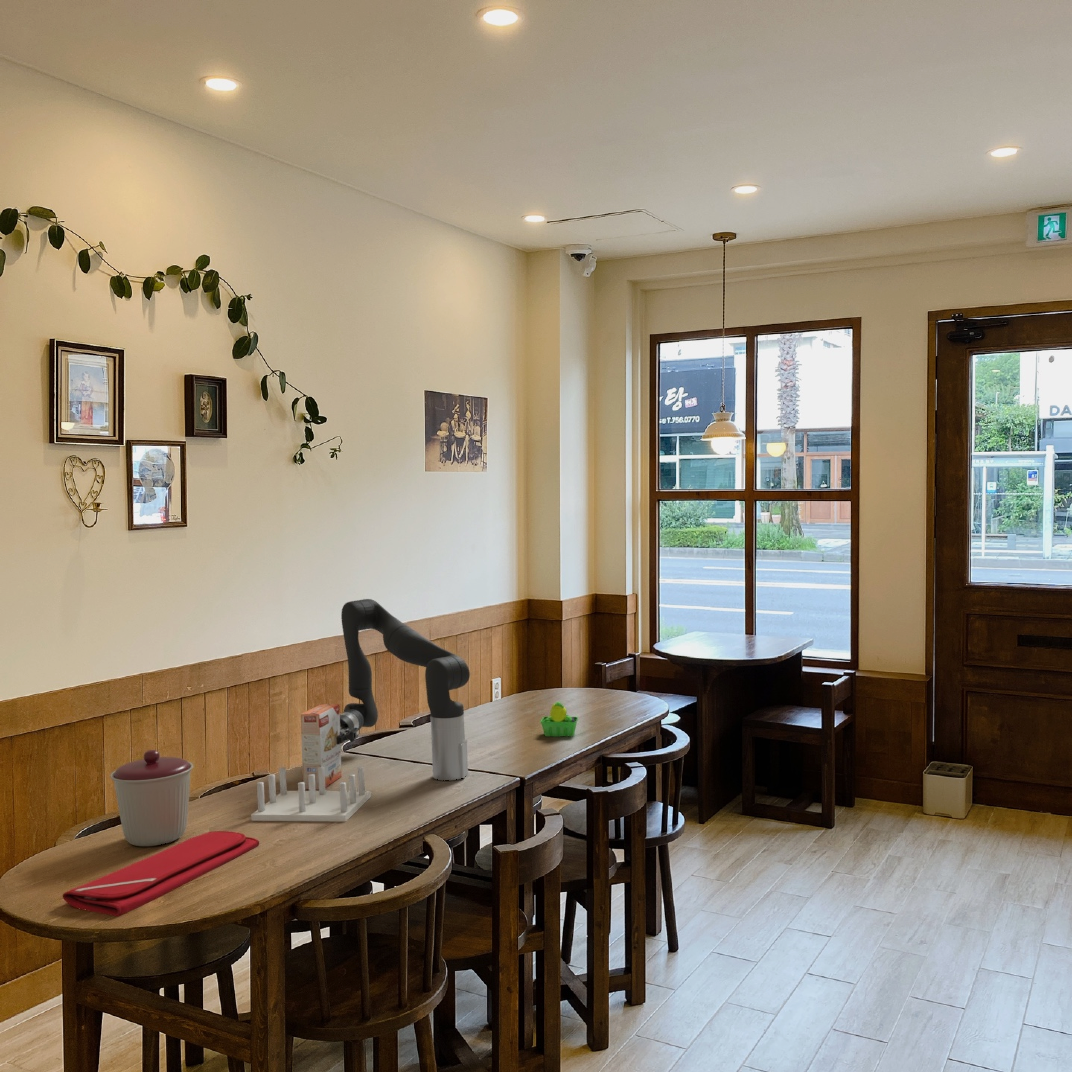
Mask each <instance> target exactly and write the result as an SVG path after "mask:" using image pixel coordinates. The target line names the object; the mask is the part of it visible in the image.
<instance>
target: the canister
mask: <svg viewBox="0 0 1072 1072" xmlns="http://www.w3.org/2000/svg"><path fill="white" fill-rule="evenodd" d="M193 769H194V764H193V763H192V762H191V761H188V760H187V759H184V758H181V757H177V756H176V757H174V756H160V752H159V751H158V750H156V749H148V750H147V751H145V753H143V759H138V760H134V761H131V762H127V763H125V764H123V765H120V766H119V767H118V768H117V769H115V770H114V771H113V772H111V773H110V774H109V775H110V779H111V780H112V781H113V783H114V790H115V796H116V802H117V807H118V812H119V819H120V822H121V823H120V824H121V829H122V833H123V836H124V839H125V840H126V841H127V842H128V843H129V844H130V845H133V846H137V847H154V846H155V847H157V846H161V844H162V845H165V843H166V844H168V843H171V842H173V841H177V840H178V839H180V838H181V837H182V836H183V835H184V833H185V831H186V829H187V825H188V815H189V804H190V803H189V802H190V786H191V785H190V784H191V771H193Z"/></svg>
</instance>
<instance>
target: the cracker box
mask: <svg viewBox="0 0 1072 1072" xmlns="http://www.w3.org/2000/svg"><path fill="white" fill-rule="evenodd" d="M340 714H341V713H340V704H339V703H321V704H318V705H316V706H314V707H313V708H310V709H309V710H306V711H304V712H302V713H300V732H301V733H300V734H301V763H302V764H301V765H302V766H301V767H302V768H301V769H302V782H304V783H305V791H309V780H308V775H310V774H314V775H315V791H319V776H318V768H319V767H324V769H325V787H326V788H328V786H330V785H331V784H333V783H334V782H336V781H337V780H339V779H340V778H342V754H341V753H342V751H341V750H342V749H341V746H342V745H341V744H342V743H341V744H337V739H336V738H337V736H338V735H340ZM338 778H339V779H338ZM329 784H330V785H329Z"/></svg>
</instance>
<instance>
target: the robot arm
mask: <svg viewBox="0 0 1072 1072" xmlns="http://www.w3.org/2000/svg"><path fill="white" fill-rule="evenodd" d="M340 619H341V627H342V633H343V640H344V646H345V651H346V657H347V667H348V694H349V696H350V697H352V698H355V699H358V700H360V701H361V703H357V702H352V703H348V704H346V705H344V706H345V707H343V708H344V709H343V712H342V713H340V735H338V736H337V738H336V739H337V744H343V743H346V742H348V741H349V742H354V741H355V740H357V739H358V738H359V731H361V728H372V727H374V726H375V725H376V723H377V721H378V718H379V713H378V708H377V704H376V702H375V697H374V694H373V686H372V685H373V681H372V679H373V674H372V667H371V664H370V662H369V659H368V658H367V657H366V654H364V651H363V649H362V647H361V644H360V641H359V634H360V631H366V630H375V631H377V632H378V633H380V634H381V635H382V640H383V644H384V647H385V648H386V650H387V651H388V652H389V653H390V654H392V655H393V656H394V657H396V658H397V659H399V660H401V662H405V663H407V664H411V665H415V666H418V667H419V666H420V667H422V668H425V672H424V673H425V674H424V678H425V688H426V689H425V690H426V698H427V699H426V701H427V704H428V705H427V706H428V709H429V713H430V734H431V735H430V736H431V737H430V738H431V758H432V759H431V760H432V761H431V762H432V777H433V779H435V780H437V779H438V781H443V780H444V781H445V780H449V781H457V780H462V779H461V778H464V779H465V778H466V777H467V776H468V774H469V764H468V763H469V762H468V740H467V739H466V735H465V709H464V704H463V703H462V702H460V701H457V700H456V701H455V700H452V699H451V695H450V691H451V690H452V691H453V690H457V689H459V688H462V687H464V686H465V685H466V684H467V683H468V682H469V680H470V676H471V674H470V669H469V666H468V664H467V662H466V661H465V660H464V659H463V658H462V657H460V656H459V655H457V654H455V653H453V652H451V651H449V650H446V649H445V648H442V647H440V646H439V645H437V644H435V643H434V642H433V641H431V640H429V639H428V638H426V637H425V636H423V635H422V634H420V633H419V632H418V631H417V630H414V628H412V627H411V626H409V625H407V624H405V623H404V622H402V621H401V620H399V619H398V618H396V617H395V616H393V615H392V614H391V613H390V612H389V611H388V610H387V609H386V608H384V607H383V606H382V605H381V604H380V603H379V602H378V601H376V600H373V599H372V598H363V599H358V600H351V601H347V602H345V603H344V604H343V606H342V609H341V618H340ZM465 776H466V777H465ZM456 779H457V780H456Z"/></svg>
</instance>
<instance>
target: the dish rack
mask: <svg viewBox="0 0 1072 1072" xmlns="http://www.w3.org/2000/svg"><path fill="white" fill-rule="evenodd" d="M278 771H279V773H278V774H279V791H280V792H279V793H278V794H277V793H276V791H277V790H276V775H275V773H274V774H273V773H271V774H268V796H269V801H268V802H266V803H265V786H264V784H265V783H264V781H257V782H256V789H257V791H256V792H257V793H256V796H257V810H256V811H253V813H251V814H250V818H251V819H250V820H251V821H252V822H253V821H254V822H255V821H256V822H257V821H258V822H340V823H341V822H345V823H346V822H347V821H348V820H349V819H350V818H351V817H352V816H353V815H354V814H355V813H357V811H359V809H360V808H361V807H362V806H363V805H364V804H365V803H367V802H368V800H369V799H371V797H372V793H371V790H366V788H365V787H366V785H365V767H364V766H359V767H357V785H358V787H357V786H356V774H348V788H349V789H348V790H347V782H339V784H338V785H339V790H326V788H325V769H324V767H319V768H318V776H319V790H315V775H314V774H310V775H308V780H309V790H305V783H304V782H303V781H299V782H298V783H297V787H298V788H297V789H298V790H287V775H286V774H287V772H286V771H287V769H286V766H281V767H279V768H278Z"/></svg>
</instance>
